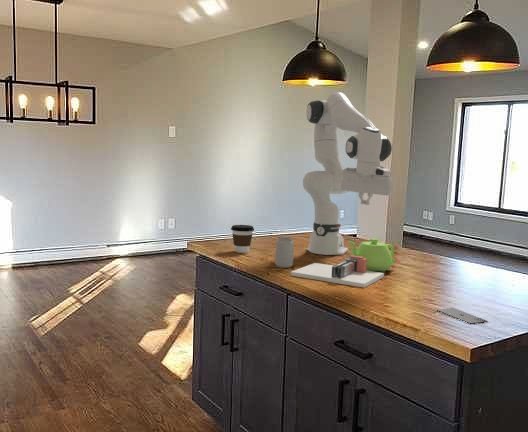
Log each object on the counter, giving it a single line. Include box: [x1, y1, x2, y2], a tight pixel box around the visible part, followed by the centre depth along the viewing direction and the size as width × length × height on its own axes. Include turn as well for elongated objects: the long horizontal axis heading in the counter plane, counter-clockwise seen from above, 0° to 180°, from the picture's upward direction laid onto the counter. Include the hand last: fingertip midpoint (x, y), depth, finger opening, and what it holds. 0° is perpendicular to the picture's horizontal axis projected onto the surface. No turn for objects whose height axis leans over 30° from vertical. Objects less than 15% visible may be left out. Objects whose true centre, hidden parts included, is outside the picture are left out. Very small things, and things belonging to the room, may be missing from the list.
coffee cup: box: [230, 224, 255, 254], centre depth 264 cm, size 11×11×12 cm
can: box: [274, 236, 295, 269], centre depth 235 cm, size 8×8×12 cm
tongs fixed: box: [337, 256, 357, 278], centre depth 219 cm, size 18×5×5 cm, turn 150°
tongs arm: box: [332, 260, 348, 277], centre depth 218 cm, size 14×2×4 cm, turn 152°
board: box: [290, 262, 385, 289], centre depth 221 cm, size 22×30×2 cm
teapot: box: [347, 238, 396, 273], centre depth 235 cm, size 22×15×13 cm
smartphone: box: [436, 307, 489, 325], centre depth 173 cm, size 7×1×15 cm
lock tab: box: [349, 254, 367, 272], centre depth 225 cm, size 3×6×6 cm, turn 60°
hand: (364, 204), depth 223 cm, fingers closed
